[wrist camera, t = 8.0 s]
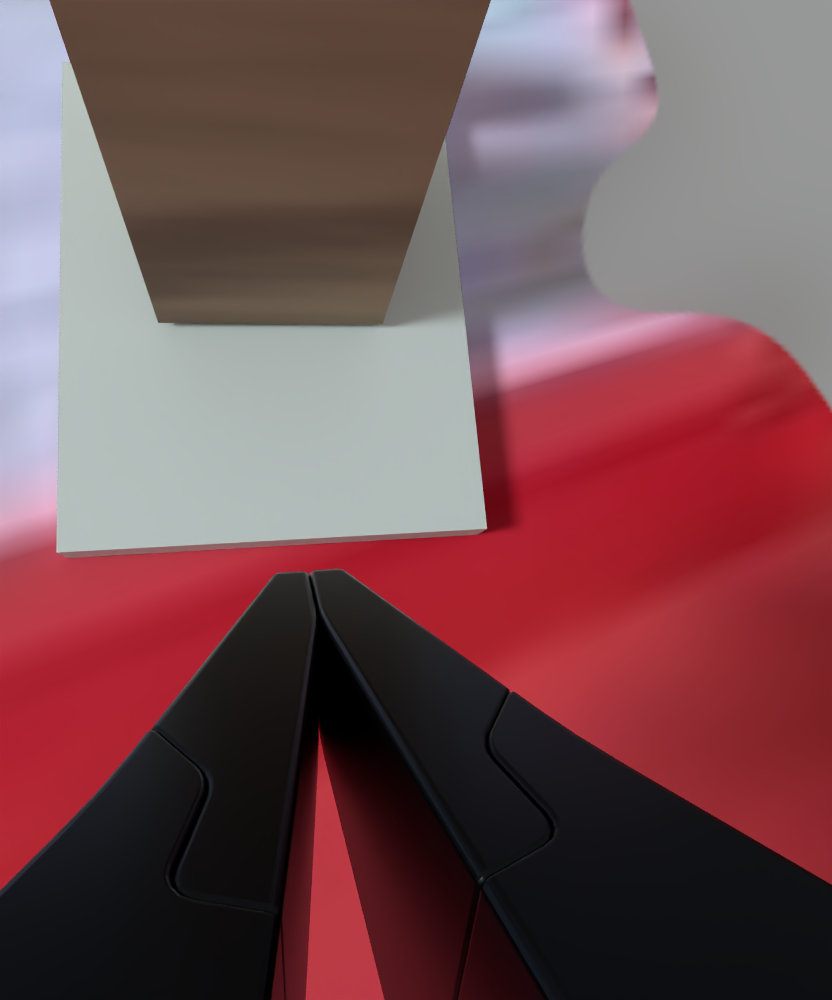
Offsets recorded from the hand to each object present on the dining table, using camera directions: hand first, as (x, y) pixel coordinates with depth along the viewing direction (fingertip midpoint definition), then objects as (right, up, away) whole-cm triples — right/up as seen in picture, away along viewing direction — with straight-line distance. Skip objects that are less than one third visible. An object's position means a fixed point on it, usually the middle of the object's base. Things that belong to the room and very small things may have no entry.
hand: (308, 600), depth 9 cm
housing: (-3, +7, +12) cm, 14 cm away
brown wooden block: (-3, +9, +11) cm, 14 cm away
